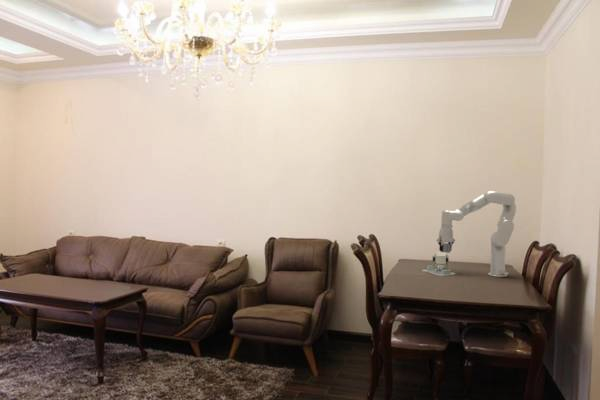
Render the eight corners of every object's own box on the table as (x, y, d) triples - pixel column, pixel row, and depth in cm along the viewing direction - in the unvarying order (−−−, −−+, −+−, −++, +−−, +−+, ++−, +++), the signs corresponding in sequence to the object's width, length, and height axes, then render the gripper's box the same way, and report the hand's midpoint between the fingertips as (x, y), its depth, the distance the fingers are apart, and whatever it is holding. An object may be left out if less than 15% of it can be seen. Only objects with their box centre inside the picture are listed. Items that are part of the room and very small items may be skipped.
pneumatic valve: (448, 269, 356) (448, 254, 356) (432, 269, 359) (432, 253, 359) (447, 268, 361) (448, 253, 361) (432, 267, 364) (432, 252, 364)
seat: (455, 274, 336) (455, 267, 336) (439, 275, 330) (440, 268, 330) (437, 270, 354) (437, 262, 354) (422, 271, 349) (422, 263, 349)
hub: (452, 252, 341) (452, 244, 341) (444, 252, 338) (445, 244, 338) (446, 251, 347) (446, 243, 347) (438, 251, 345) (438, 243, 345)
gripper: (452, 226, 349) (451, 249, 349) (433, 226, 342) (432, 250, 343) (459, 227, 342) (458, 251, 342) (440, 227, 335) (439, 251, 336)
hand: (445, 250), depth 343 cm, fingers closed on hub, 7 cm apart
